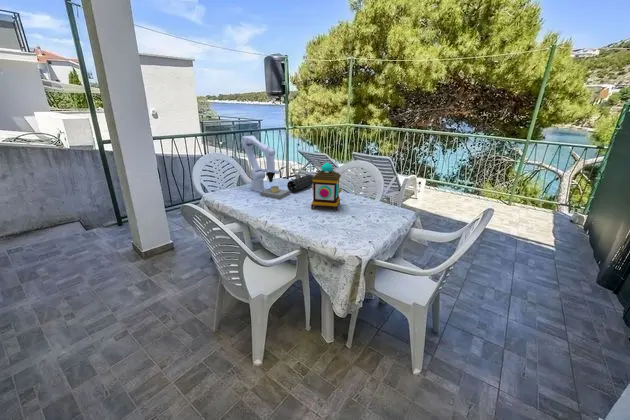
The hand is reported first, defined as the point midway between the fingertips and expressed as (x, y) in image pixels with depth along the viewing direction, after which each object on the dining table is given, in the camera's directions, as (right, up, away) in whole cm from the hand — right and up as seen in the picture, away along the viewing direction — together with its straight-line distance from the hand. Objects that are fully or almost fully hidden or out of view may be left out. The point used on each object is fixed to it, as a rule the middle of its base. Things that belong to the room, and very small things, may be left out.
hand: (270, 181), depth 213 cm
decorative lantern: (+42, -19, -23) cm, 51 cm away
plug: (+3, -10, -1) cm, 11 cm away
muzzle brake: (+23, -5, +17) cm, 29 cm away
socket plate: (+3, -10, -1) cm, 11 cm away
